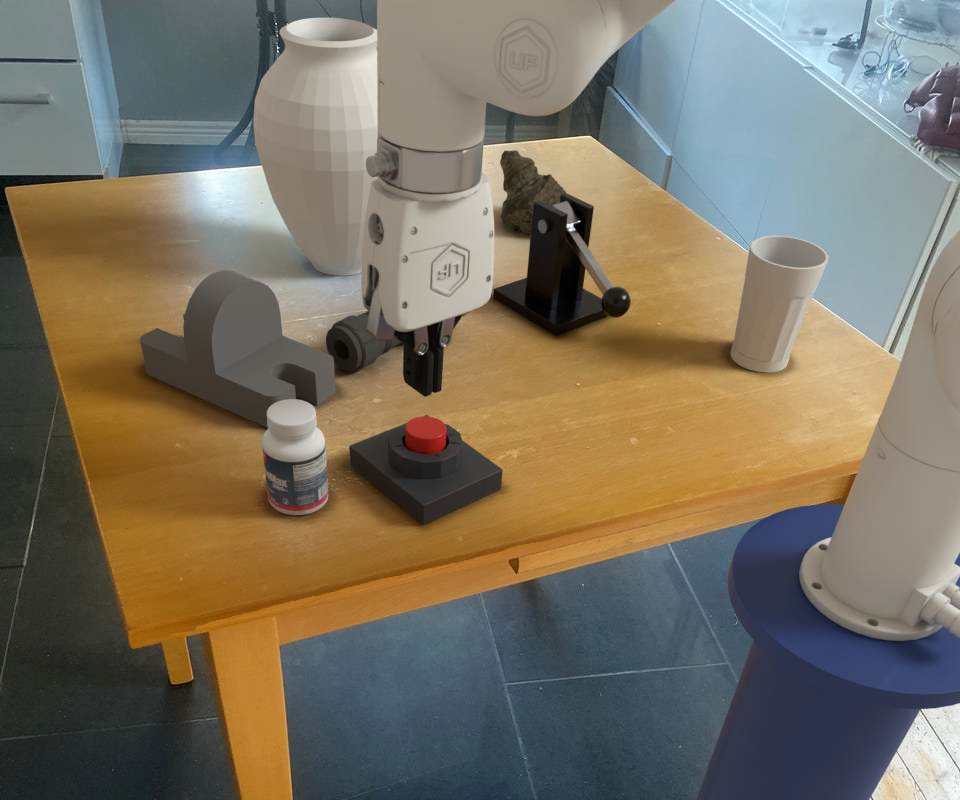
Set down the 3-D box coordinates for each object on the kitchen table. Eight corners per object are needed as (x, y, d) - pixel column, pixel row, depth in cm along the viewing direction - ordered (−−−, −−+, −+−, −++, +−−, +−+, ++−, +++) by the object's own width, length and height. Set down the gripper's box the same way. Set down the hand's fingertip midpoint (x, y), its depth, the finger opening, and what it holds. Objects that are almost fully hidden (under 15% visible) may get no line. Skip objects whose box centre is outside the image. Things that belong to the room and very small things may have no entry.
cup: (741, 378, 106) (770, 270, 97) (711, 342, 111) (737, 237, 103) (807, 373, 107) (842, 266, 99) (775, 337, 113) (806, 233, 104)
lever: (626, 319, 109) (641, 301, 106) (606, 326, 108) (621, 308, 105) (559, 217, 110) (572, 197, 108) (538, 223, 109) (551, 203, 106)
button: (454, 446, 87) (454, 429, 86) (422, 460, 85) (422, 443, 84) (429, 428, 89) (429, 411, 88) (397, 441, 87) (397, 424, 86)
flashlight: (359, 383, 101) (357, 334, 97) (322, 364, 103) (318, 316, 99) (456, 331, 109) (457, 285, 106) (419, 315, 112) (420, 268, 108)
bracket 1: (208, 335, 106) (193, 235, 98) (340, 390, 100) (335, 288, 92) (141, 371, 100) (119, 268, 92) (277, 432, 94) (266, 326, 86)
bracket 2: (612, 314, 114) (628, 212, 106) (556, 336, 110) (569, 231, 102) (548, 279, 120) (559, 179, 112) (492, 298, 116) (499, 195, 107)
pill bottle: (258, 492, 87) (246, 404, 81) (310, 474, 89) (303, 387, 83) (285, 524, 84) (276, 435, 78) (339, 505, 86) (334, 417, 80)
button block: (501, 489, 89) (504, 452, 86) (423, 525, 85) (423, 488, 82) (426, 434, 95) (427, 397, 92) (349, 465, 90) (348, 428, 88)
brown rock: (529, 151, 134) (471, 163, 129) (585, 123, 124) (524, 134, 119) (550, 238, 137) (494, 252, 132) (606, 216, 127) (548, 231, 123)
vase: (442, 274, 119) (448, 41, 102) (314, 309, 111) (298, 62, 94) (363, 222, 129) (357, 1, 111) (241, 251, 121) (213, 17, 103)
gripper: (376, 199, 65) (377, 435, 78) (541, 159, 72) (517, 381, 85) (312, 162, 69) (323, 393, 82) (475, 127, 76) (462, 344, 89)
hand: (422, 386), depth 83 cm, fingers closed
